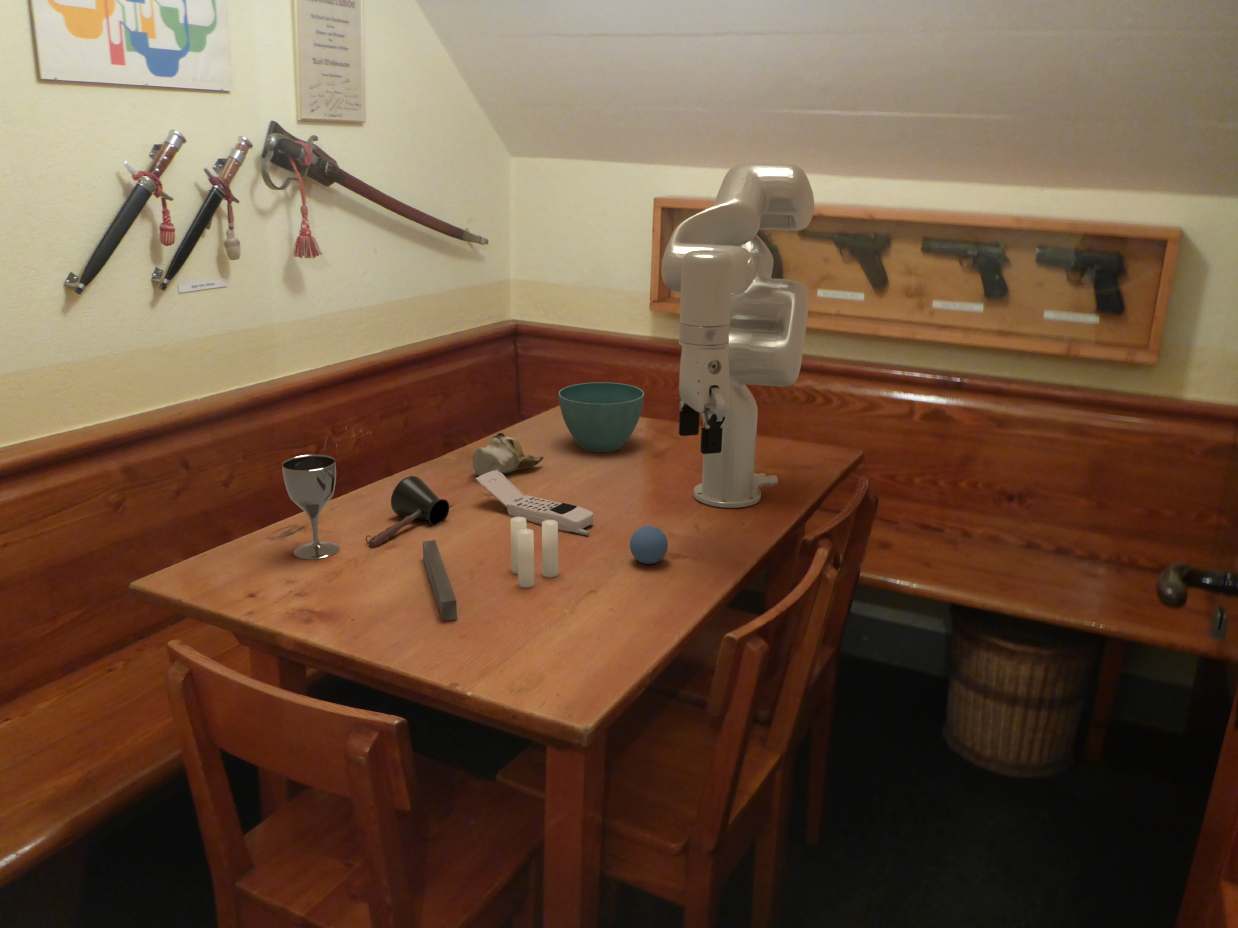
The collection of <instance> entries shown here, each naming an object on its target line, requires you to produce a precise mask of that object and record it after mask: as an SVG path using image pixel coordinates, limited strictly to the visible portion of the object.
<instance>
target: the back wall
mask: <svg viewBox="0 0 1238 928" xmlns="http://www.w3.org/2000/svg"><path fill="white" fill-rule="evenodd" d="M422 558H423V562H424V567H425V569H426V572H427V575H428V578H429V582H430V586H431V588H432V592H433V595H434V598H435V601H436V604H437V608H438V611H439V614H440V618H441V621H442V622H443V623H444V622H451V621H452V622H453V621H457V620H458V613H457V612H458V608H457V599H456V596H455V593H454V592H455V591H454V590H453V587H452V585H451V581H450V579H449V576H448V573H447V570H446V567H445V563H444V562H443V559H442V555H441V553H440V550H439V548H438V545H437V541H436V539H434V540H433V539H432V540H424V541H422Z"/></svg>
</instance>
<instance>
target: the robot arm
mask: <svg viewBox="0 0 1238 928" xmlns="http://www.w3.org/2000/svg"><path fill="white" fill-rule="evenodd" d="M718 189H719V190H718V192H717V195H716V197H715V200H714V203H713V204H712V206H709V207H707V208H705V209H703V210H702V211H700V212H697V213H696V214H694V215H692V216H690V217H688V218H687V219H684V220H682V222H681V223H679V224H678V225H677V226H676V228H675V229H674V230H673V232H672V234H671V236H670V238H669V241H668V243H667V245H666V247H665V251H664V252H663V256H662V261H661V278H662V281H663V283H664V285H665V286H666V287H667V288H668V289H669V290H670V291H673V292H676V293H680V304H679V327H678V328H679V330H678V331H679V333H678V345H680V346H681V353H680V365H679V378H678V379H679V380H678V382H679V383H678V390H679V391H678V392H679V393H678V397H679V399H680V402H679V405H678V408H679V414H678V415H679V420H678V435H680V436H681V437H688V436H697V435H699V432H700V431H701V432H700V453H701V454H702V456H703V457H702V481H701V482H700V483H698V484H697V485H695V486H694V488H693V497H694V498H695V499H696V501H699V502H701V503H703V504H704V505H707V506H711V507H716V508H718V507H719V508H724V509H725V508H727V509H737V508H739V509H740V508H746V507H750V506H753V505H756V504H757V503H759V502H760V501H761V498H762V491H761V490H760V489H763V487H764V486H765V487H766V486H767V487H772V486H777V485H778V480H779V479H778V477H777V475H776V474H774V475H766V474H765V473H764V472H760V473H759V472H758V473H756V472H755V461H756V460H755V459H756V448H757V447H756V446H757V445H756V444H757V428H758V427H757V426H758V414H759V413H758V412H759V411H758V405H757V401H756V399H755V397H754V395H753V394H752V392H751V391H750V389H749V387H747V385H753V386H765V387H767V386H769V387H783V388H784V387H789V386H792V385H793V384H795V383H796V382H797V380H798V378H799V375H800V371H801V368H802V360H803V353H804V345H805V339H806V338H805V337H806V333H807V331H806V330H807V323H808V318H809V294H808V290H807V288H806V287H805V285H804V284H803V283H801V282H800V281H797V280H794V279H787V278H772V274H773V269H774V263H775V262H774V256H773V254H772V252H771V251H770V249H769V248H768V246H767V244H766V243H765V241H763V240H762V238H760V237H759V236H758V235H757V234H758V232H759V231H760V230H764V231H765V230H766V231H767V230H771V231H791V232H792V231H793V232H794V231H795V232H796V231H797V232H798V231H802V230H805V229H806V228H807V227H808V226H809V225H810V223H811V221H812V219H813V216H814V211H815V199H814V197H815V196H814V192H813V189H812V186H811V183H810V181H809V178H808V175H807V174H806V173H805V170H804V169H802V168H801V167H800V166H798V165H795V164H793V163H779V162H778V163H776V162H775V163H773V162H772V163H770V162H769V163H768V162H743V163H739V164H736V165H733V167H731V168H730V169H729V170H728V171H727V172H726V174H725V176H724V177H723V180H722V182H721V185H720V187H719V188H718ZM700 414H701V419H702V423H703V427H701V429H700ZM699 429H700V430H699Z"/></svg>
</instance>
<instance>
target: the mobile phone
mask: <svg viewBox="0 0 1238 928" xmlns="http://www.w3.org/2000/svg"><path fill="white" fill-rule="evenodd" d="M475 480H476V481H477V482H478V483H479V484H480V485H481V486H483V487H484V489H485V490H486V491H487V492H489V493H490V494H491V495H492V496H493V497H494V498H496V499H497V500H498V501H499V502H500V503H501V504H502V505H503V506H505V507H506V509H507V513H508V515H509V516H510V517H512V518H513V517H524V518H526V522H527V521H528V522H531V523H534V524H538V525H541V526H542V522H543V521H545V520H555V521H557V522H558V531H563V532H570V533H575V534H577V535H579V534H580V535H584V536H590V533H591V532H590V530H589V531H588V530H587V529H585V528H587V527H589V526H590V525H592V524H593V523H594V513H593V512H592V511H591V510H588V509H587V508H584V507H582V506H579V505H576V504H572V503H570V502H569V503H568V502H565V501H564V502H559V501H558V502H557V501H554V500H553V501H552V500H550V499H545V498H541V497H536V496H531V495H529V494H526V495H525V494H524V493H523V492H522V491H521V490H520V489H519V488H518V487H516V486H515V485H514V484H513V483H512V482H511V481H510V480H509V479H508V478H507V477H506V476H505V475H504V474H502V473H501V472H499V471H498V470H494V471H491V472H488V473H485V474H483V475H481V476H478V477H475Z"/></svg>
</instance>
